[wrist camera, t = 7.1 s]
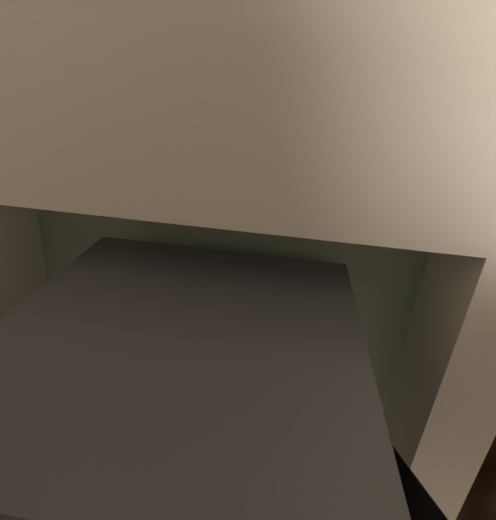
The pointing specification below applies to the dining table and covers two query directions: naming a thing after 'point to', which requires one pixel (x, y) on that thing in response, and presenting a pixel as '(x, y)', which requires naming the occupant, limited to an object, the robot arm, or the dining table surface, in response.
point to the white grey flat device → (279, 171)
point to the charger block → (192, 392)
